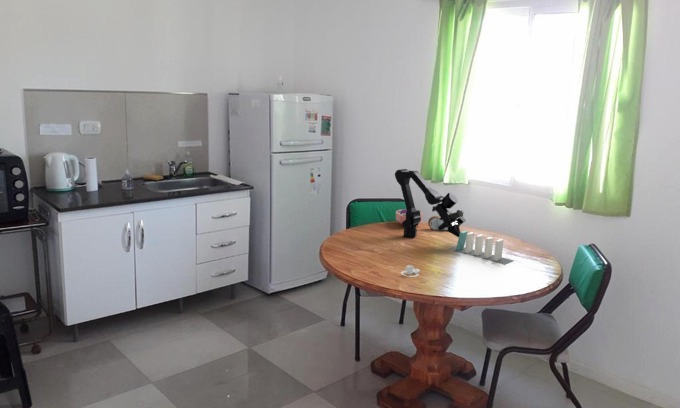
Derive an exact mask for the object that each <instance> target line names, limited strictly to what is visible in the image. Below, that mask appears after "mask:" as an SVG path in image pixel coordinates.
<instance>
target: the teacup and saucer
mask: <svg viewBox="0 0 680 408" xmlns="http://www.w3.org/2000/svg"><path fill="white" fill-rule="evenodd" d="M404 273H405V274H404ZM419 273H420V269H418V268H415V267H414V266H413V265H412V264H408V265H406V267H405V268H404V270H402V271H401V272H400V274H401V275H402V276H404V277H407V278H415V277H418V276H419ZM406 274H407V275H406ZM413 274H415V275H413Z"/></svg>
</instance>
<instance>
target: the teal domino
mask: <svg viewBox="0 0 680 408" xmlns="http://www.w3.org/2000/svg"><path fill="white" fill-rule="evenodd" d="M467 233H469V231H468V230H462V231H460V235H459V238H458V239H457V243H456V246H457V247H456V250H458V251H459V250H461V249H463V248H464V247H465V244H466V234H467Z"/></svg>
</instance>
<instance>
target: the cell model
mask: <svg viewBox="0 0 680 408" xmlns="http://www.w3.org/2000/svg"><path fill="white" fill-rule="evenodd" d="M416 210H417V209H416ZM406 211H407V210H406V208H405V209H398V210H396V211H395V219H396V222H398V223H399V224H400V225H402V222H403V221H405V220H406V216H405V215H406ZM417 211H418V210H417ZM420 215H421V221H420V222H419V224H420V223H421V222H422V221H423V217H424V216H423V215H424V213H423V212H422V211H421V210H420Z"/></svg>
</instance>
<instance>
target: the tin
mask: <svg viewBox="0 0 680 408" xmlns="http://www.w3.org/2000/svg"><path fill="white" fill-rule="evenodd" d="M440 218H441V217H440V216H439V215H433V216H430V218H428V221H427V224H428V227H429V228H430V229H431V230H432V231H439V230H438V227H439V226H440V225H441V224H442V223H443V220H440ZM447 230H448V229H447V228H444V229H443V231H445V232H448V231H447ZM443 231H442V232H443Z"/></svg>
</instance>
